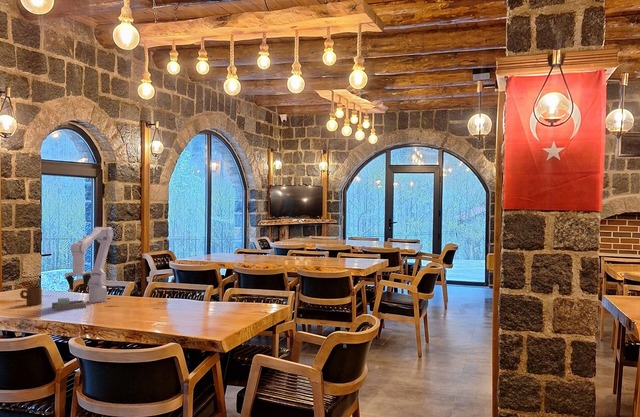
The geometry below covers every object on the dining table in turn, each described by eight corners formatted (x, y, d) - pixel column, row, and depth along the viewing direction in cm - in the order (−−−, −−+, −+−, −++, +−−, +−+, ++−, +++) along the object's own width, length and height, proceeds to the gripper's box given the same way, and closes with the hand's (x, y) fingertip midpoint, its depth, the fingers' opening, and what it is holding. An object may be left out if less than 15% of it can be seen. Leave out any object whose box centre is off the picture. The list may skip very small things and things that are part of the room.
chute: (82, 304, 303) (82, 300, 303) (86, 307, 294) (86, 303, 294) (51, 307, 294) (51, 302, 294) (54, 310, 286) (54, 305, 286)
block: (67, 306, 296) (67, 297, 296) (69, 308, 292) (69, 299, 292) (57, 307, 293) (57, 298, 293) (59, 309, 289) (59, 300, 289)
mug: (24, 307, 292) (24, 290, 292) (15, 306, 296) (15, 289, 296) (44, 304, 303) (44, 287, 303) (35, 302, 306) (35, 286, 306)
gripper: (87, 262, 305) (87, 286, 305) (62, 264, 294) (61, 289, 294) (93, 263, 300) (93, 287, 300) (68, 265, 289) (67, 290, 289)
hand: (78, 288), depth 297 cm, fingers open, 7 cm apart
